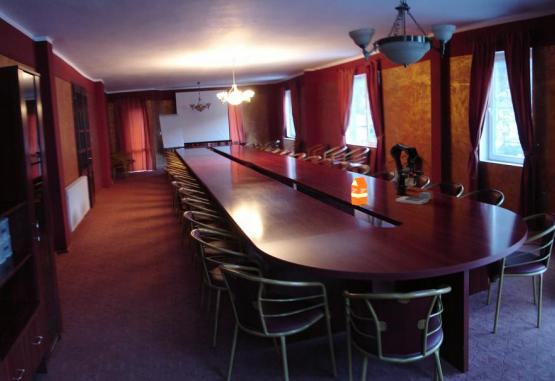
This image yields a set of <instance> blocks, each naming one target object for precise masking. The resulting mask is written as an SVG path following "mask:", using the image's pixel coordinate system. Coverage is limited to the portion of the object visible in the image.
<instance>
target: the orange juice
mask: <svg viewBox="0 0 555 381" xmlns="http://www.w3.org/2000/svg"><path fill="white" fill-rule="evenodd" d="M367 183H368V182H367V181H366V179H365V176H360V177H354V178H353V181H352V184H350V185H351V204H352V205H353V206H354V205H355V206H357V205H359V206H362V205H361V204H365V205H368V184H367Z"/></svg>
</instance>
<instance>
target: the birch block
mask: <svg viewBox="0 0 555 381" xmlns="http://www.w3.org/2000/svg"><path fill="white" fill-rule="evenodd" d="M405 185H407V186H409V187H414V186H416V185H417V182H416V183H415V184H414V177H413V178H412V177H409V178H407V179H405Z"/></svg>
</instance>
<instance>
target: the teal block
mask: <svg viewBox="0 0 555 381" xmlns="http://www.w3.org/2000/svg"><path fill="white" fill-rule="evenodd" d="M418 197H423V199H428V201H429V200H431V199H432V198H431V192H427V191H422V192H419V195H418Z"/></svg>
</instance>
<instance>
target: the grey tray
mask: <svg viewBox="0 0 555 381" xmlns="http://www.w3.org/2000/svg"><path fill="white" fill-rule="evenodd" d="M395 202H397V203H404V204H413V205H424V204H427V203H428V202H429V200H428V199H423V197H419V196H412V195H410V196H405V195H402V196H400V197H397V198H395Z"/></svg>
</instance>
